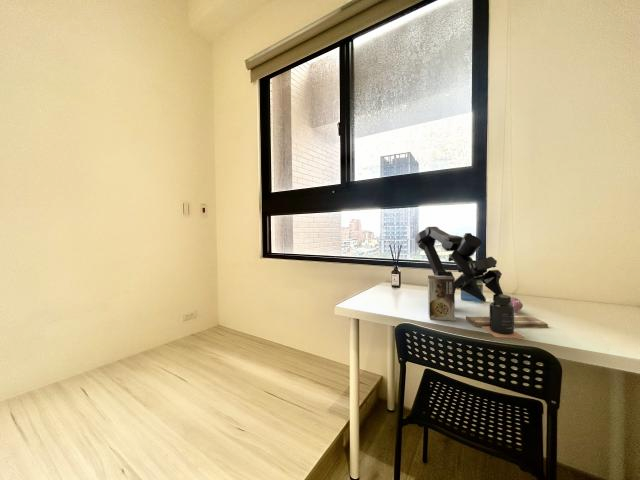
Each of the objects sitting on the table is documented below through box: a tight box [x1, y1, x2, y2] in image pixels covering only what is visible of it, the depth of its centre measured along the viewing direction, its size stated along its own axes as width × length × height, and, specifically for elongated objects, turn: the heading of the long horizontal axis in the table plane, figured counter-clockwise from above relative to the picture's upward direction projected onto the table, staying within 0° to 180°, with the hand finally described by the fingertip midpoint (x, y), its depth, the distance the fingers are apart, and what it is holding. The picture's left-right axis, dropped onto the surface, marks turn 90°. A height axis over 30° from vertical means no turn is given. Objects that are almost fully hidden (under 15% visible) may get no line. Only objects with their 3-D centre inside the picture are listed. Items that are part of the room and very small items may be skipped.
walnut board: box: [465, 315, 549, 328], centre depth 94 cm, size 24×7×1 cm, turn 84°
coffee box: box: [427, 275, 456, 322], centre depth 101 cm, size 9×6×16 cm
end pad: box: [482, 326, 526, 339], centre depth 86 cm, size 9×9×1 cm
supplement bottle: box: [488, 293, 515, 335], centre depth 86 cm, size 7×7×12 cm
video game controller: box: [510, 296, 524, 314], centre depth 107 cm, size 10×5×7 cm, turn 170°
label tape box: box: [460, 281, 484, 304], centre depth 122 cm, size 9×4×12 cm, turn 49°
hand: (494, 299), depth 89 cm, fingers open, 9 cm apart
